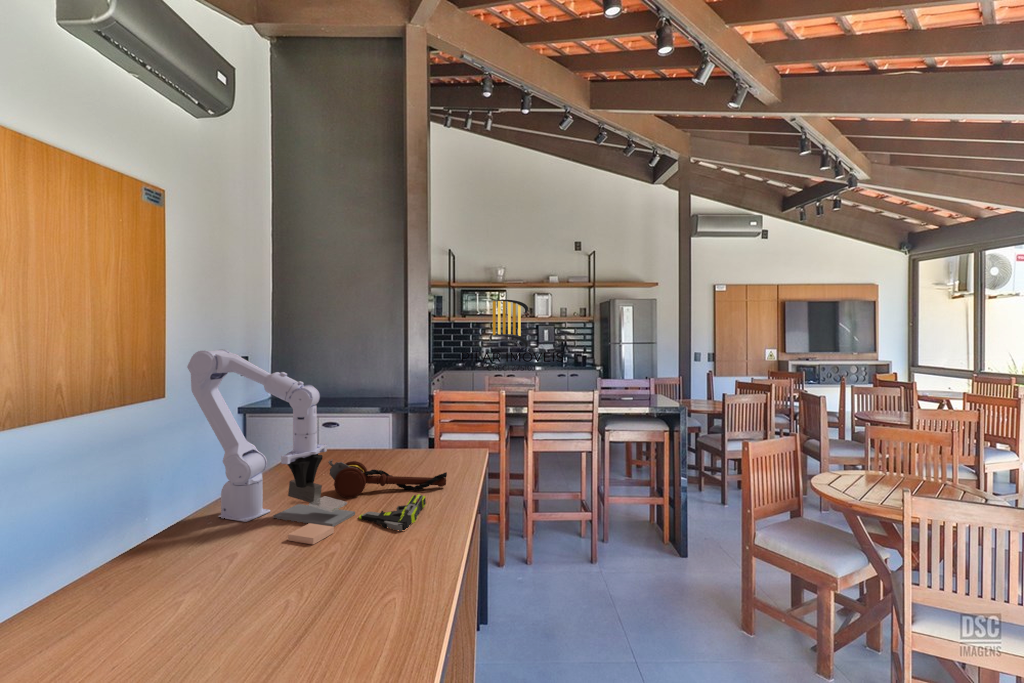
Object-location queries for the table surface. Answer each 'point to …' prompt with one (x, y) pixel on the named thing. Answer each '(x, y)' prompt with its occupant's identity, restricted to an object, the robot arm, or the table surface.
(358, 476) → the gavel
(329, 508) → the turner
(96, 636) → the table surface
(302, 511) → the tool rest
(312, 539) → the block
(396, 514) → the toy gun
